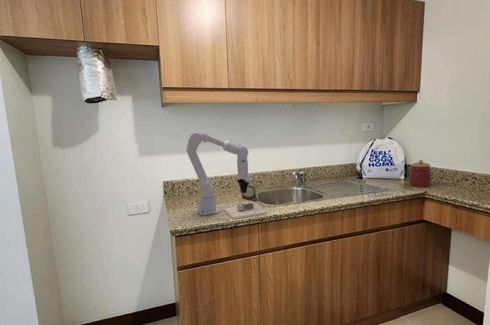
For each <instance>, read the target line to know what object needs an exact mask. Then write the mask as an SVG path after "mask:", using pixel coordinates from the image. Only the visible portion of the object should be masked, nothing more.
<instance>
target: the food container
mask: <svg viewBox="0 0 490 325" xmlns="http://www.w3.org/2000/svg"><path fill="white" fill-rule="evenodd" d="M257 188H258V186H257V184H256V183H254V182H249V184H248V186H247V191H246V193H242V192H241V199H242V200H245V201H249V202H255V201H256V196H257V195H256V191H257Z"/></svg>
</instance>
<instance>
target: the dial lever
mask: <svg viewBox="0 0 490 325" xmlns="http://www.w3.org/2000/svg"><path fill="white" fill-rule="evenodd" d="M253 204H254V203H252V202H251V203H240V202H239V203H237V204H236V207H237V209H238V211H244V210H245V209H252V208H254V205H253Z"/></svg>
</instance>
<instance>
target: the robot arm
mask: <svg viewBox="0 0 490 325" xmlns="http://www.w3.org/2000/svg"><path fill="white" fill-rule="evenodd" d="M202 143H211V144H214V145H217V146H220V147H222V149H223V150H224V151H226V152H228V153H229V154H230V153H231V154H232V155H236V157H237V159H236V166H237V174H236V177H237V180H236V181H237V183H238V186H239V189H240V191H241V192H240V193H241V194H242V193H246V191H247V186H248V184H249V183H251V181H250V180H251V179H250V177H251V175H250V174H249V161H248V155H249V150H248V147H245V146H243V145H242V144H241V143H236V142H234V141H233V140H231V139H230V140H228V139H227V140H226V141H224V140H221V139H219V138H217V137H215V136H213V135H211V134H208V133H204V132H200V131H193V132H191V135H190V136H189V138H188V141H187V144H186V145H187V146H186V150H185V151H186V153H187V156H188V158H189V161H190V163H191V165H192V167H193V169H194V172H195V174H196V176H197V178H198V181H199V182H200V186H201V190H202V194H201V196H200V197H198V198H197V210H198V211H197V212H198V213H199V215H200V216H208V215H214V214H218V213H219V211H218V210H217V205H216V204H217V203H216V194H215V189H214V185H213V184H212V183H211V182H210V180H209V178H208V176H207V174H206V171H205V169H204V167H203V164H202V162H201V159H200V158H199V155H198V153H197V150H198V148H199V145H200V144H202Z"/></svg>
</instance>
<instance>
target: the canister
mask: <svg viewBox="0 0 490 325" xmlns="http://www.w3.org/2000/svg"><path fill="white" fill-rule="evenodd" d="M409 170H410V171H409V180H408V184H409V186H412V187H416V188H417V187H418V188H429V187H431V185H432V170H433V169H432V168H431V165H430V164H429V163H427V162H424V161H423V160H422V159H420V160H419V161H418V162H413V163H411V165H410V167H409Z"/></svg>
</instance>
